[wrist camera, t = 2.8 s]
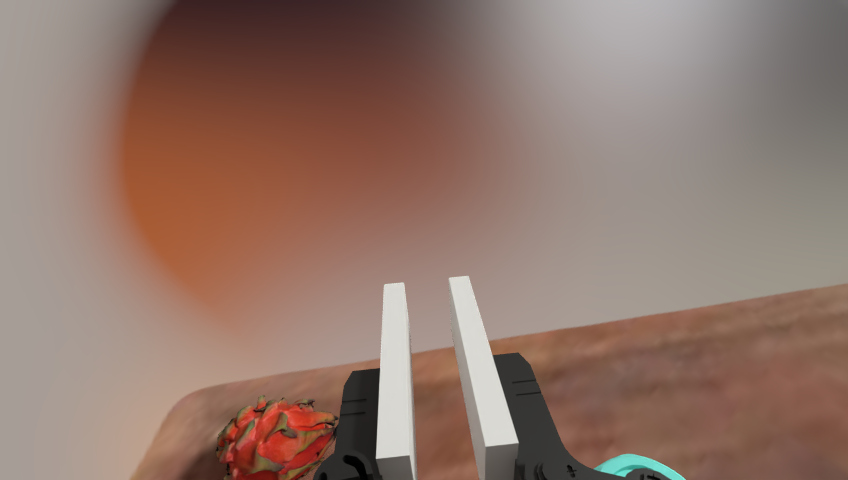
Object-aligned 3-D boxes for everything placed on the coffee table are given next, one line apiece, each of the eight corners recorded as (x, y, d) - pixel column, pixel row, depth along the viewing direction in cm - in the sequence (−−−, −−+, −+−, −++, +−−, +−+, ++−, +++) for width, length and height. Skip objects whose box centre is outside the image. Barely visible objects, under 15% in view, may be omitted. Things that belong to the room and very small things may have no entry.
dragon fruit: (228, 476, 38) (344, 460, 41) (193, 527, 30) (341, 503, 32) (229, 392, 39) (342, 381, 42) (196, 419, 31) (339, 403, 34)
